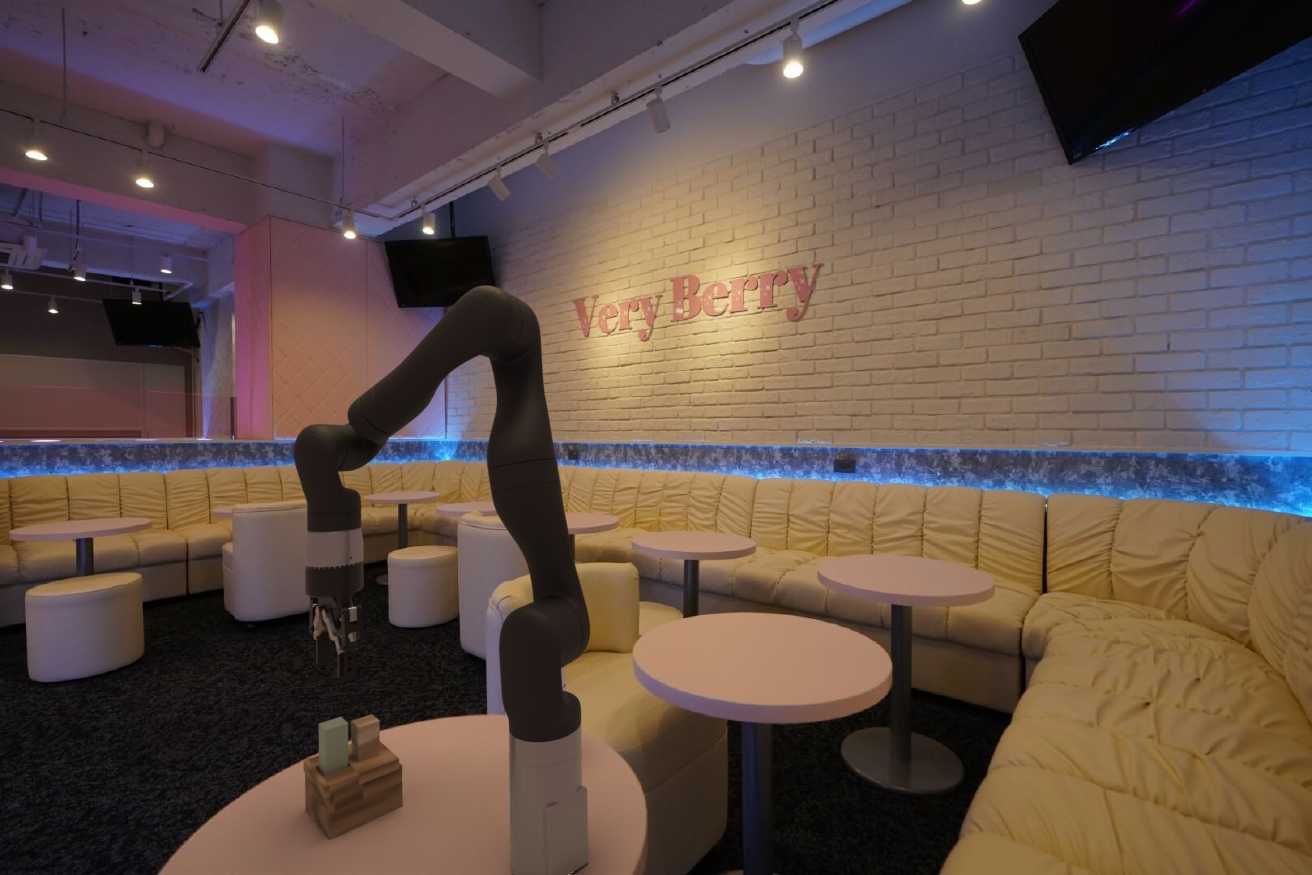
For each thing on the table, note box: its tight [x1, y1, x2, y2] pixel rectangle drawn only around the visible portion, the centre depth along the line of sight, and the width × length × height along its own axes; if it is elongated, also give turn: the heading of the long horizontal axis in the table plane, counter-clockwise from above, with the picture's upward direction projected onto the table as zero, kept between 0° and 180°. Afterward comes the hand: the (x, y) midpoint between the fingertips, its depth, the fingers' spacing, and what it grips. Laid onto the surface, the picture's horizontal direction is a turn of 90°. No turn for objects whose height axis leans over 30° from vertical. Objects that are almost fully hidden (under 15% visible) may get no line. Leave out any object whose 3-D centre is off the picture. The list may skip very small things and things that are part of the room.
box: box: [304, 762, 404, 840], centre depth 87 cm, size 10×10×6 cm
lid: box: [303, 714, 400, 798], centre depth 86 cm, size 10×10×6 cm
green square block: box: [318, 716, 349, 777], centre depth 85 cm, size 3×3×10 cm
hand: (335, 670), depth 85 cm, fingers open, 8 cm apart
